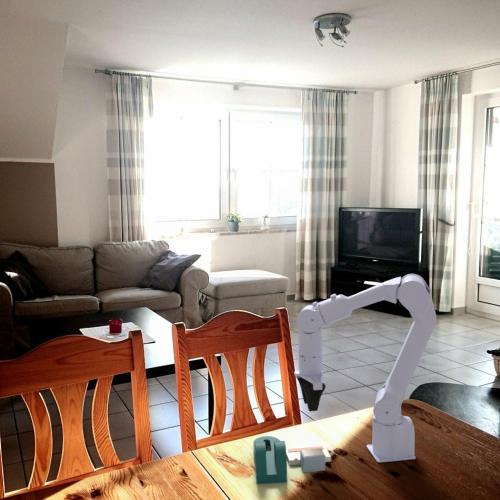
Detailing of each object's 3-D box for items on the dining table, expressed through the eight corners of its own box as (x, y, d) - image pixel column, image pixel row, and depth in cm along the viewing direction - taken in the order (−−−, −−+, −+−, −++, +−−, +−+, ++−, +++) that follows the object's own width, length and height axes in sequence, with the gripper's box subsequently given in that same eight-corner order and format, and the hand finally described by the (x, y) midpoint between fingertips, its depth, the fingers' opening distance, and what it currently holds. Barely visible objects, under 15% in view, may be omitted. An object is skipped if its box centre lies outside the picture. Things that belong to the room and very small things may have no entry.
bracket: (287, 483, 120) (286, 450, 119) (256, 484, 120) (256, 451, 119) (279, 444, 138) (279, 414, 137) (252, 445, 138) (252, 415, 137)
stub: (320, 462, 128) (320, 447, 128) (325, 470, 125) (325, 455, 124) (300, 464, 127) (300, 449, 127) (303, 472, 124) (303, 457, 123)
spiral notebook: (323, 448, 135) (323, 443, 134) (330, 461, 129) (330, 455, 129) (284, 452, 133) (284, 447, 133) (289, 465, 127) (289, 459, 127)
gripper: (288, 346, 141) (288, 396, 142) (301, 365, 126) (301, 420, 128) (314, 344, 142) (314, 394, 143) (330, 363, 127) (330, 418, 129)
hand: (310, 406), depth 136 cm, fingers open, 4 cm apart
